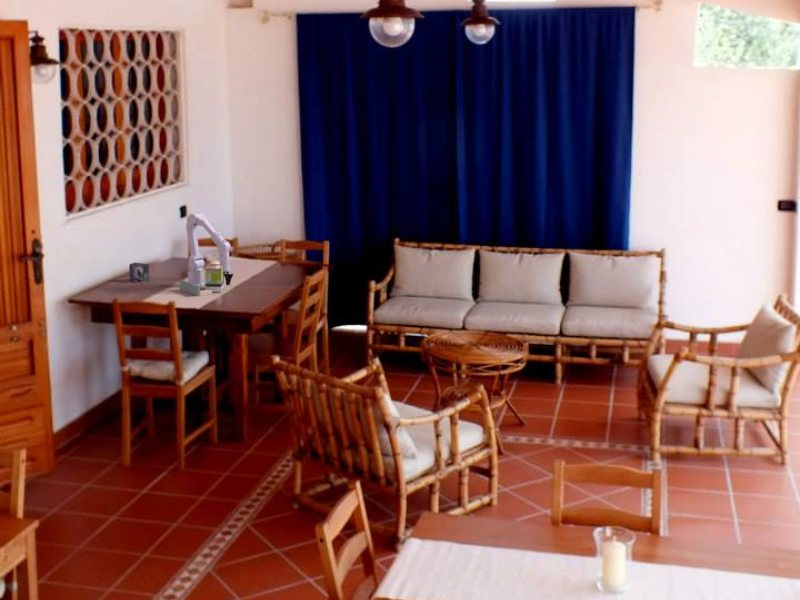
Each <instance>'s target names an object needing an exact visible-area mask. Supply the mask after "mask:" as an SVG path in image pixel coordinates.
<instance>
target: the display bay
mask: <svg viewBox="0 0 800 600" xmlns="http://www.w3.org/2000/svg"><path fill="white" fill-rule="evenodd" d="M179 290H180V291H184V292H185V293H189V294H191V295H195V296H196V297H199V296H207V295H213V292H212V290H205V289H204V290H201V285H200V286H199V285H196V284H193V283H190V282H188V280H184V279H181V278H180V279H179Z"/></svg>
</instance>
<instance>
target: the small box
mask: <svg viewBox="0 0 800 600" xmlns="http://www.w3.org/2000/svg"><path fill="white" fill-rule="evenodd" d="M149 266H150V265H149V263H142V262H141V263H140V262H133V263H130V264H129V266H128V267H129V280H130V279H131V280H137V281H136V282H139V281H146V282H148V281H147V280H149V281H150V267H149Z"/></svg>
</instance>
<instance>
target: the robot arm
mask: <svg viewBox="0 0 800 600" xmlns="http://www.w3.org/2000/svg"><path fill="white" fill-rule="evenodd" d="M198 226H201V227H203V228H204V230H205V231H206V232H207V233H208V234H209V235H210V239H211V241H213V243H214V244H215V245H216V246H217V248H216V249H217V251H218V254H219V264H220V265H223V271H224V281H225V285H226V286H230V285H231V283H232V282H231V281H232V278H233V277H234V274H233V270H232V269H231V268H230V251H231V248H232V245H231V243H230V242H229V241H228V240H226V239H225V238H223V236H222V234H221V233H220V232H218V231H216V230H215V229H214V228H213V227H212V225H211V224H210V222H209V221H208V219H207V216H206V215H205V213H203V212H201V211H199V212H195V213H190V214H188V216H186V225H185V228H186V234H187V235H186V236H187V241H188V246H189V254H190V256H189V258H188V262H187V267H188V269H189V271H188V272H187V275H188V276H187V278H188V279H187V281H188V282H190V283H193V284H196V285H199V286H200V287H201V286H205V283H204V279H203V278H204V274H203V273H204V272H203V270H204V268H205V265H206V262H205V260H204V257H203V256H202V254H201V253H200V247H199V241H198V234H197V230H196V229H197V227H198Z"/></svg>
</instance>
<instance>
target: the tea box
mask: <svg viewBox="0 0 800 600" xmlns="http://www.w3.org/2000/svg"><path fill="white" fill-rule="evenodd" d="M204 268H205V269H204V271H205V273H204V274H205V275H204V276H205V277H204V278H205V279H204V280H205V283H204V284H205V285H204V286H205V287H204V291H205V290H212V293H222V291H223V289H224V287H225V276H224V271H223V265H220V263H208V264H206V267H204Z"/></svg>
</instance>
